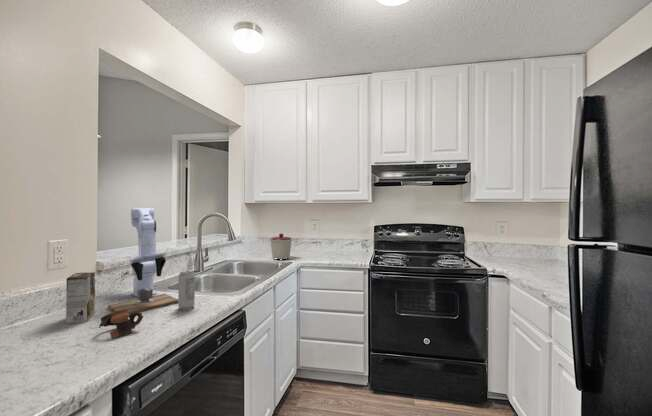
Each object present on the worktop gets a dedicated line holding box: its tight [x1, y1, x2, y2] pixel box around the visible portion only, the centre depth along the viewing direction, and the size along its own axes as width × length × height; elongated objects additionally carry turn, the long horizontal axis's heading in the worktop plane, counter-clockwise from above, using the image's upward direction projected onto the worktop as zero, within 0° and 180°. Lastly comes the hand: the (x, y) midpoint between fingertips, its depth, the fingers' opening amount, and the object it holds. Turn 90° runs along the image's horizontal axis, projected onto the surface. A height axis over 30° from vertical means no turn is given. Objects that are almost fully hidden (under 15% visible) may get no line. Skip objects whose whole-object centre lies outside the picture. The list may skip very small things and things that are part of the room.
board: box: [107, 293, 178, 314], centre depth 127 cm, size 15×22×2 cm
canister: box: [269, 233, 293, 259], centre depth 245 cm, size 18×18×21 cm
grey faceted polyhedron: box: [136, 288, 154, 300], centre depth 127 cm, size 5×6×4 cm
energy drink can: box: [177, 269, 196, 310], centre depth 124 cm, size 6×6×15 cm
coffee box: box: [65, 271, 96, 325], centre depth 111 cm, size 9×6×16 cm
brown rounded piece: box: [98, 310, 144, 340], centre depth 100 cm, size 12×10×8 cm
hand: (149, 278), depth 126 cm, fingers open, 7 cm apart
